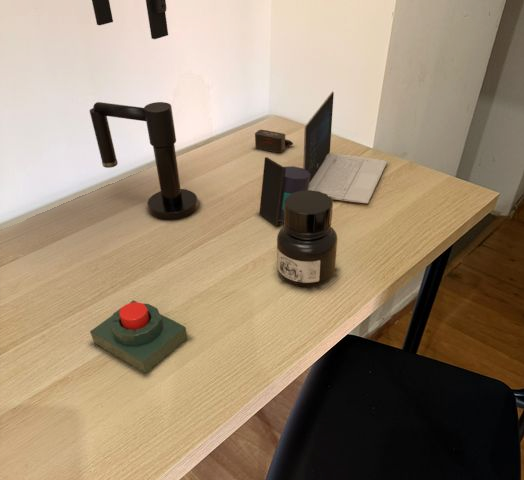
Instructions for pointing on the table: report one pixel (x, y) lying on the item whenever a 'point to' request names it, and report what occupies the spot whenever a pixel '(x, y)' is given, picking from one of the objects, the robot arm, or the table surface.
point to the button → (134, 316)
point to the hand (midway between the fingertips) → (131, 30)
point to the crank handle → (153, 114)
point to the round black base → (170, 189)
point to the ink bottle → (307, 240)
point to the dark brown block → (271, 141)
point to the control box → (140, 339)
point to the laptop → (337, 162)
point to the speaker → (280, 188)
